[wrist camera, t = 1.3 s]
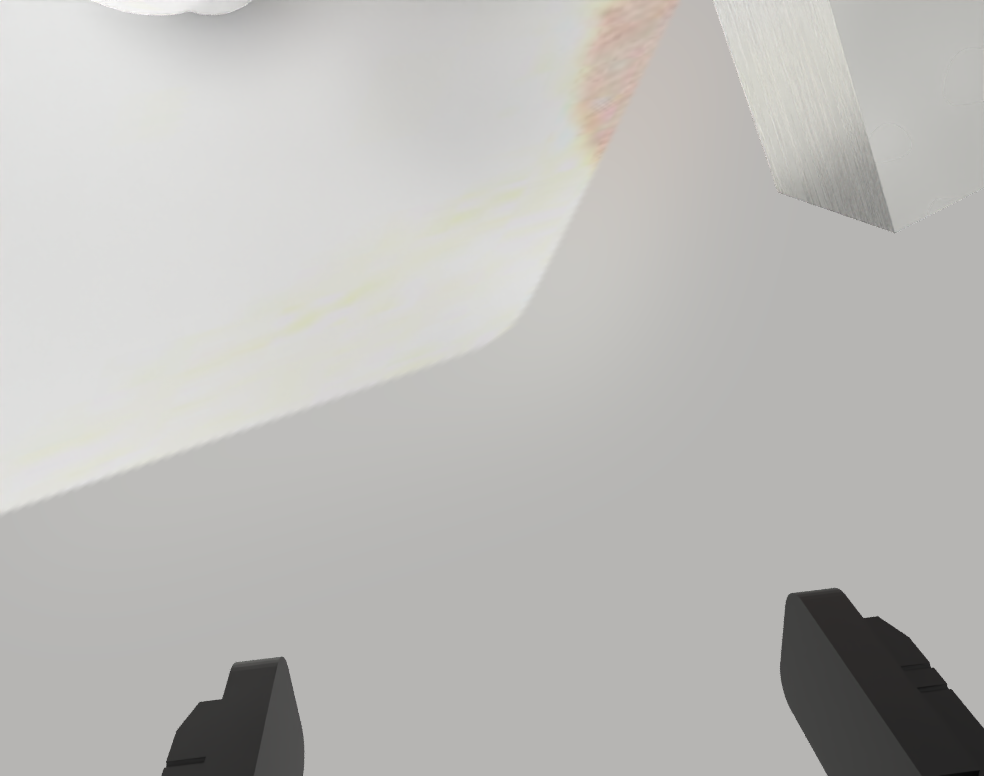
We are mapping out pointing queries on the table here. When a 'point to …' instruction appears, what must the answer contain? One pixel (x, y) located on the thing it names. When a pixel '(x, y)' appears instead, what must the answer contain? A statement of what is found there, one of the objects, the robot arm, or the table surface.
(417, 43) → the table surface
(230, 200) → the table surface
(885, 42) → the blocky hammer
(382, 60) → the table surface
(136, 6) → the beer glass
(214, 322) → the table surface
